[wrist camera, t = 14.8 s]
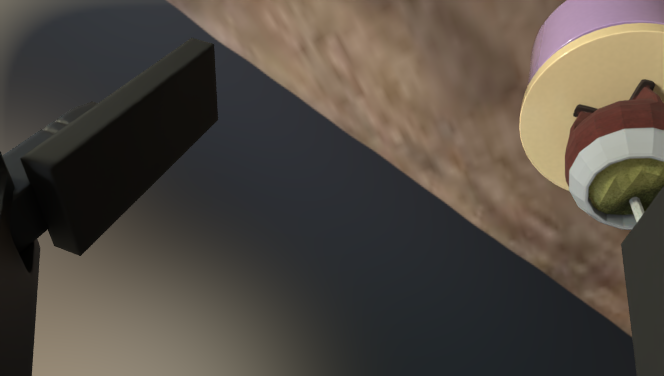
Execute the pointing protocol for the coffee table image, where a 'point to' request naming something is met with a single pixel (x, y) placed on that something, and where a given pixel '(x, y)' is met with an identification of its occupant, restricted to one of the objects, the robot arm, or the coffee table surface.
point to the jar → (587, 70)
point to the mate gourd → (617, 157)
